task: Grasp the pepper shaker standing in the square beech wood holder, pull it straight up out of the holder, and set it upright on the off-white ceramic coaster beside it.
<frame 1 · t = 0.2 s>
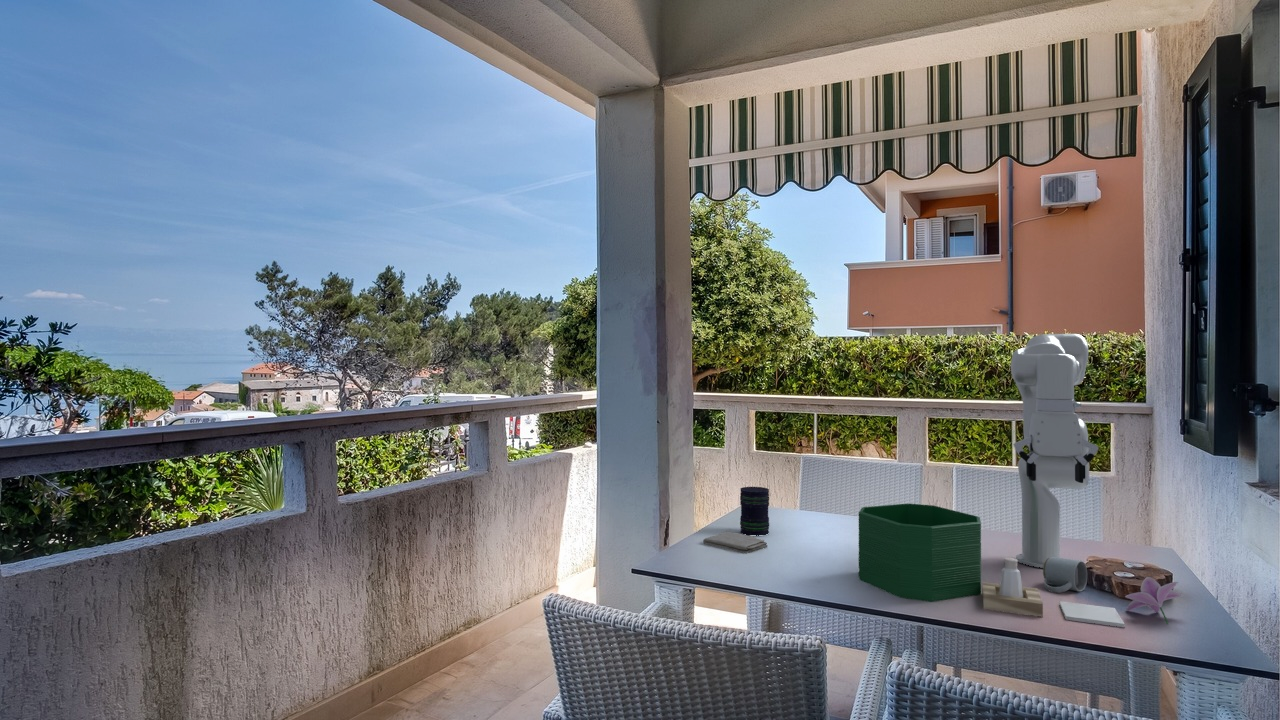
hand: (1055, 481, 160), 30 cm above the table, tool pointing down, fingers open, 9 cm apart
washcloth: (735, 547, 219), on the table
lily: (1154, 618, 156), on the table
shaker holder: (1011, 605, 164), on the table
pepper shaker: (1011, 606, 164), resting in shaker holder
ceramic coaster: (1090, 615, 157), on the table
storage jar: (754, 533, 236), on the table
ceramic mug: (1063, 589, 177), on the table
planter: (918, 584, 181), on the table
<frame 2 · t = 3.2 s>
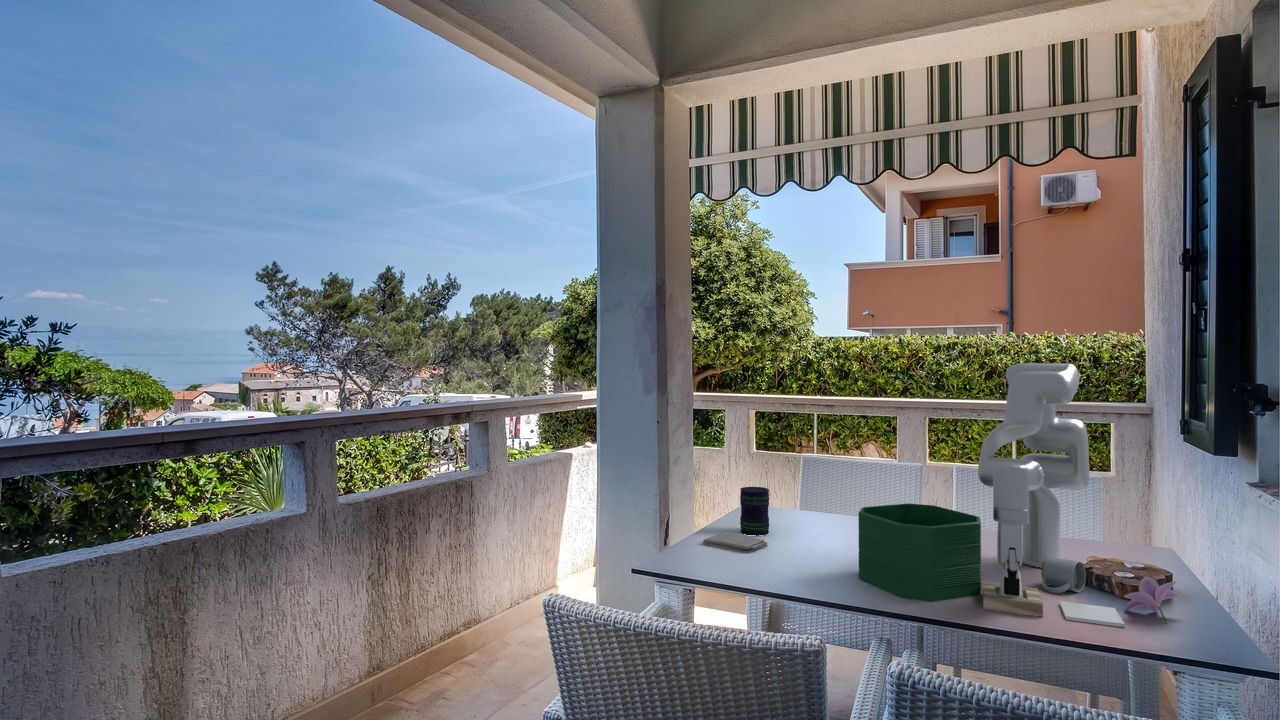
hand: (1011, 591, 164), 3 cm above the table, tool pointing down, fingers closed on pepper shaker, 4 cm apart
pepper shaker: (1011, 606, 164), resting in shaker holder, touching gripper
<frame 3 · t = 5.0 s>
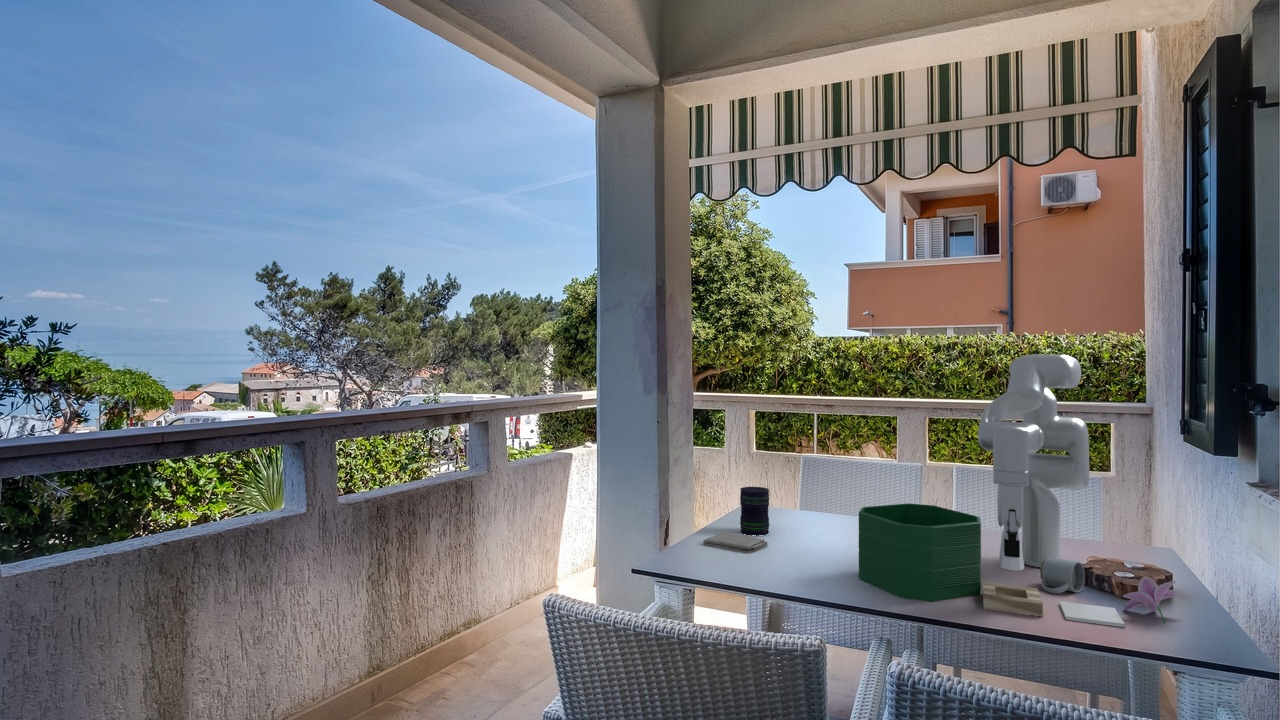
hand: (1011, 553, 165), 12 cm above the table, tool pointing down, fingers closed on pepper shaker, 4 cm apart
pepper shaker: (1011, 568, 165), point 9 cm above the table, touching gripper
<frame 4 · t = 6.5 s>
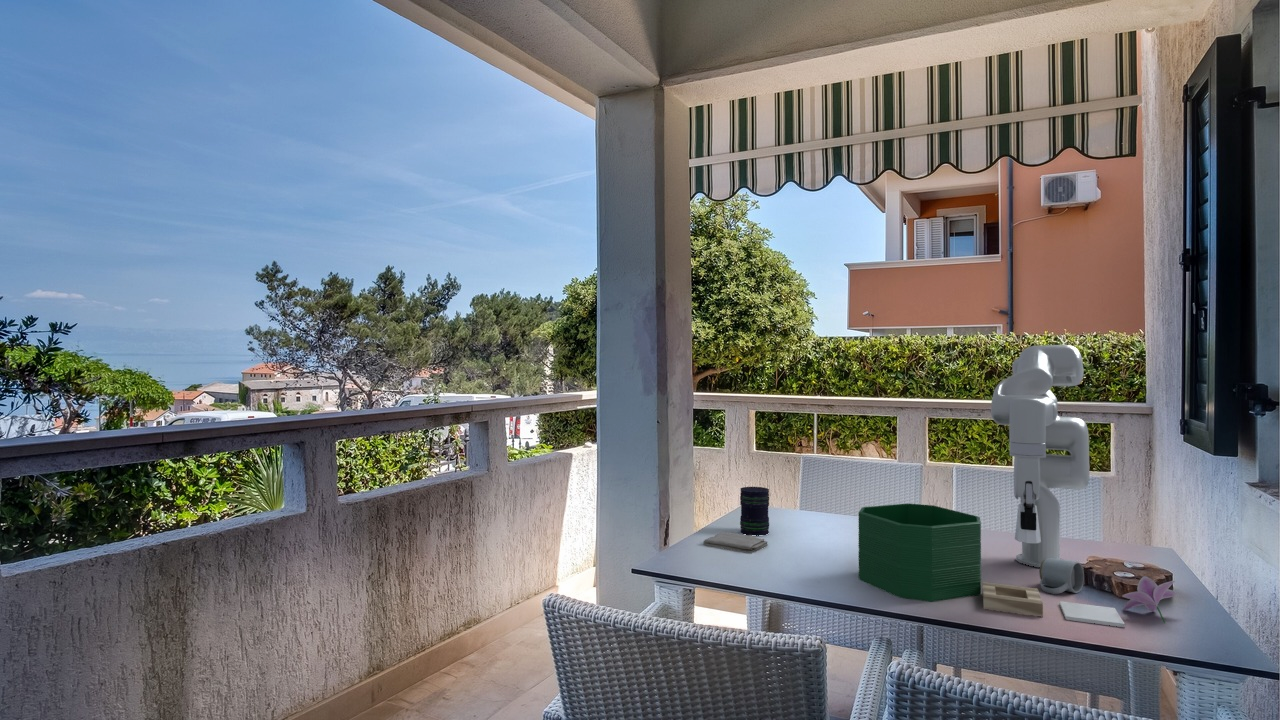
hand: (1027, 526, 163), 19 cm above the table, tool pointing down, fingers closed on pepper shaker, 4 cm apart
pepper shaker: (1027, 541, 163), point 15 cm above the table, touching gripper
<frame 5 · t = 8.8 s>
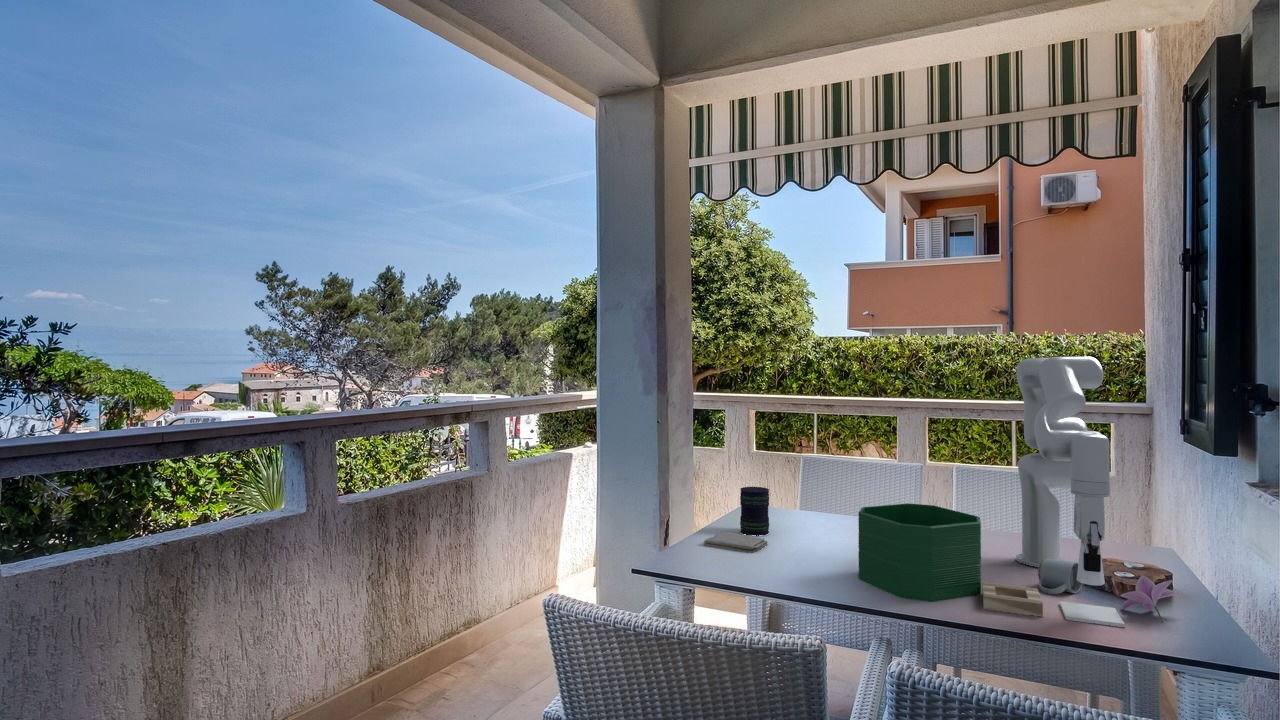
hand: (1090, 567, 157), 11 cm above the table, tool pointing down, fingers closed on pepper shaker, 4 cm apart
pepper shaker: (1090, 583, 157), point 7 cm above the table, touching gripper
when the fingers open (6 cm above the table, at t = 10.1 s): pepper shaker drops 1 cm, resting on ceramic coaster.
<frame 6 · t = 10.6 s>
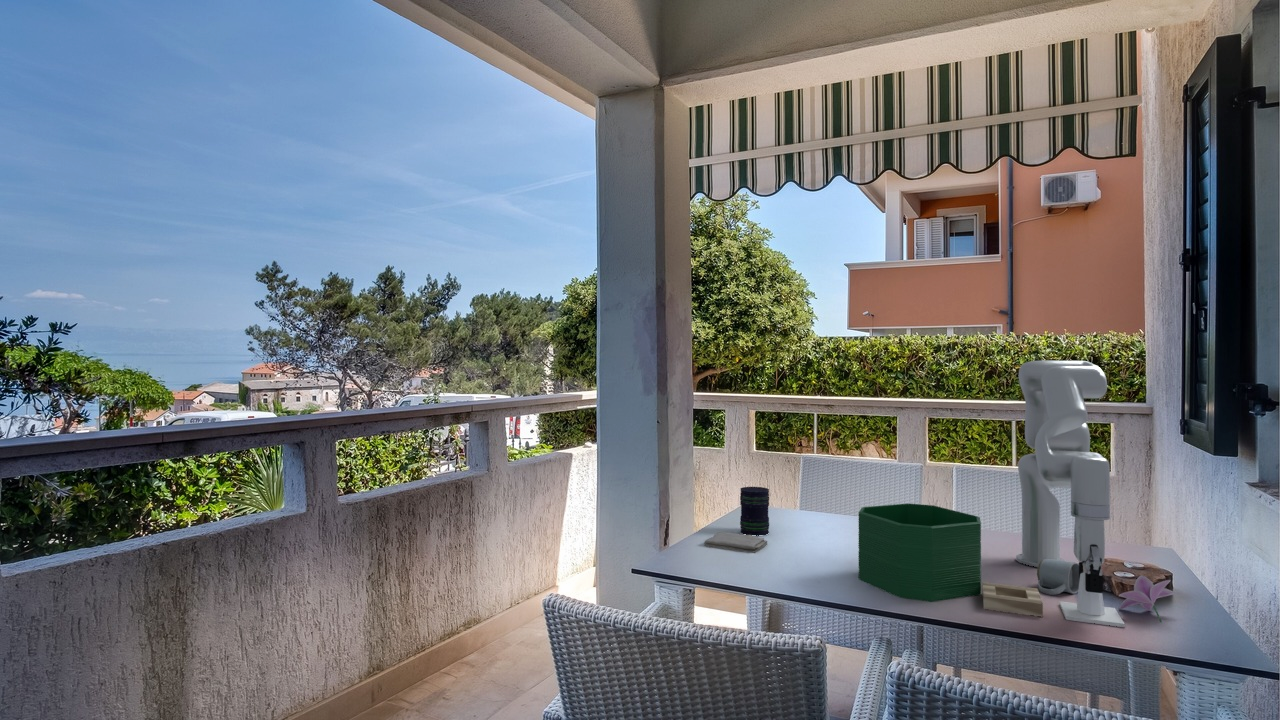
hand: (1090, 585, 157), 7 cm above the table, tool pointing down, fingers open, 9 cm apart
pepper shaker: (1090, 612, 157), point 1 cm above the table, touching ceramic coaster
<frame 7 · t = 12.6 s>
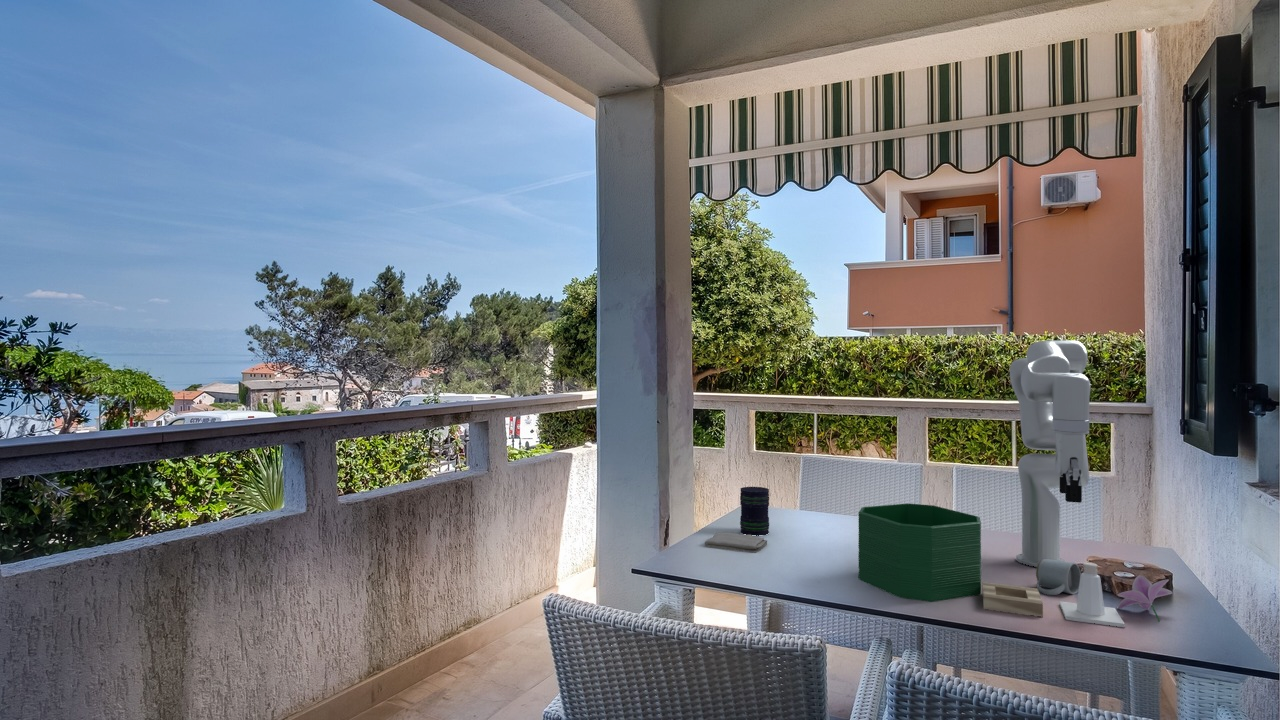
hand: (1070, 497, 166), 25 cm above the table, tool pointing down, fingers open, 9 cm apart
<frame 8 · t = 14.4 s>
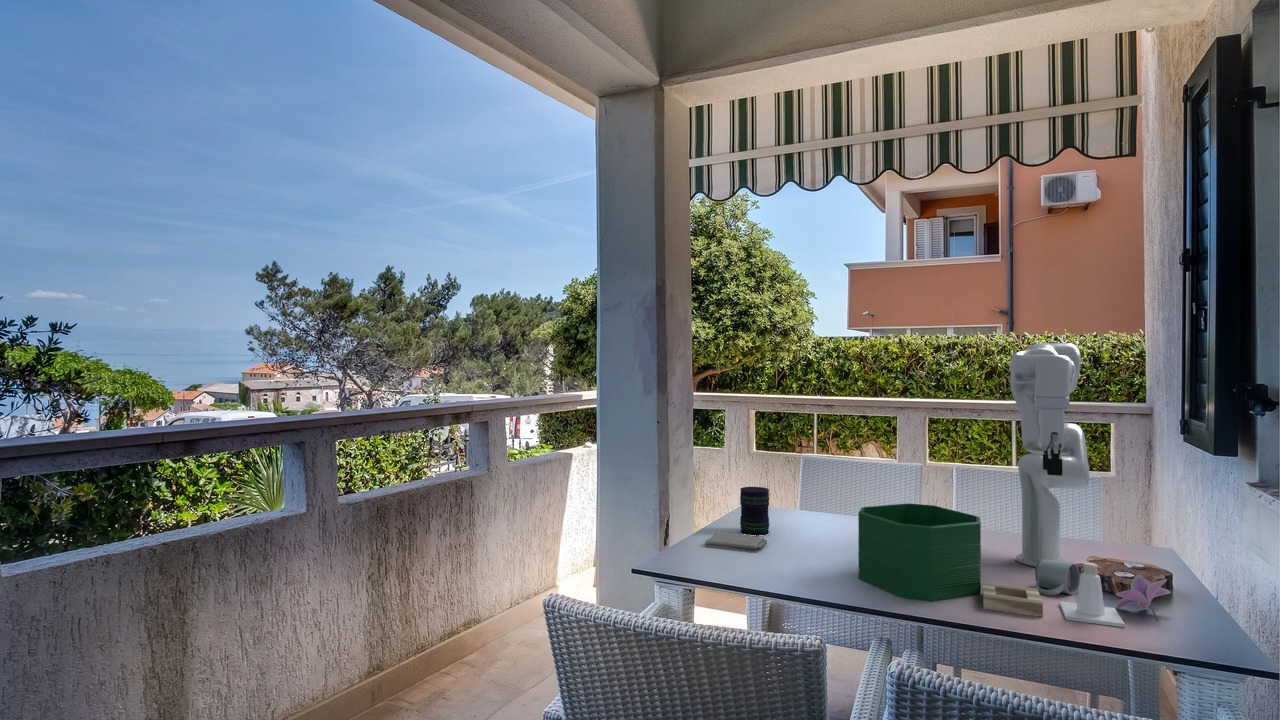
hand: (1052, 472, 173), 30 cm above the table, tool pointing down, fingers open, 9 cm apart
at the end: pepper shaker 0.1 cm off-centre on the ceramic coaster, point 0.6 cm above the ceramic coaster's base; pepper shaker tilted 0°; the gripper is holding nothing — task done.
